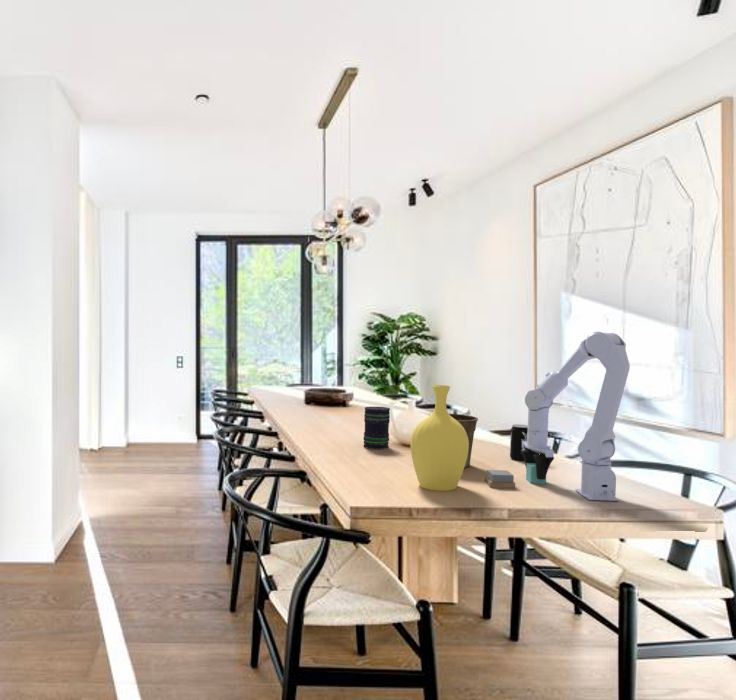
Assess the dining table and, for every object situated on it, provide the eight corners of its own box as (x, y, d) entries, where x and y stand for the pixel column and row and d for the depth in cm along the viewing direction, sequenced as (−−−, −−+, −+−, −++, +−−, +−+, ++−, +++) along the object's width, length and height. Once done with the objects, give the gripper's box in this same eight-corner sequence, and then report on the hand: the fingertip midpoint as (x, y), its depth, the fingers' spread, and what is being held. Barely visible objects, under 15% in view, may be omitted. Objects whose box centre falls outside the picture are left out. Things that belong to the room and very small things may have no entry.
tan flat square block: (515, 490, 147) (515, 483, 147) (489, 489, 147) (490, 482, 147) (508, 484, 154) (508, 477, 154) (484, 483, 154) (484, 476, 154)
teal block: (546, 483, 154) (546, 466, 154) (530, 483, 154) (531, 466, 154) (541, 480, 158) (541, 463, 158) (526, 479, 158) (526, 462, 158)
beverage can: (516, 461, 184) (517, 427, 184) (506, 457, 190) (507, 424, 190) (532, 461, 186) (533, 427, 185) (522, 457, 192) (523, 424, 192)
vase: (397, 485, 147) (400, 384, 147) (431, 476, 158) (434, 382, 158) (445, 497, 136) (449, 388, 136) (478, 486, 148) (481, 386, 147)
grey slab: (513, 482, 148) (513, 475, 148) (492, 481, 148) (492, 474, 148) (506, 477, 154) (507, 470, 154) (486, 476, 154) (486, 469, 154)
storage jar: (362, 444, 207) (363, 406, 207) (386, 444, 208) (388, 406, 208) (364, 449, 197) (365, 409, 197) (390, 449, 198) (391, 409, 198)
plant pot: (484, 464, 177) (485, 416, 177) (465, 473, 164) (466, 421, 164) (439, 457, 186) (441, 411, 186) (418, 465, 173) (420, 416, 173)
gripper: (563, 434, 150) (562, 482, 150) (537, 427, 164) (535, 470, 164) (541, 434, 148) (539, 483, 148) (516, 427, 162) (514, 471, 162)
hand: (536, 476), depth 156 cm, fingers closed on teal block, 5 cm apart
